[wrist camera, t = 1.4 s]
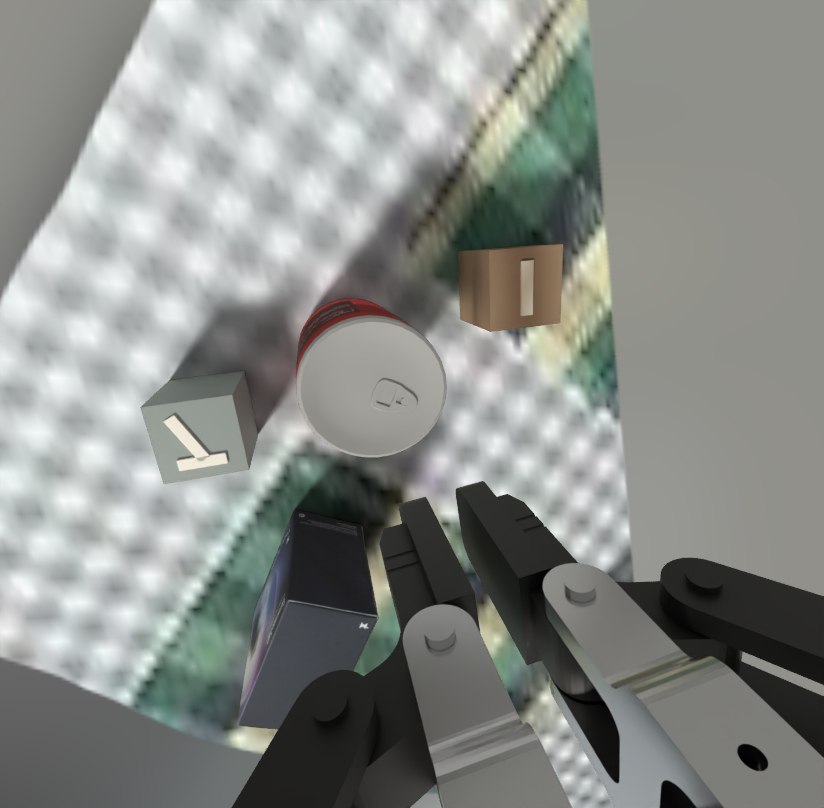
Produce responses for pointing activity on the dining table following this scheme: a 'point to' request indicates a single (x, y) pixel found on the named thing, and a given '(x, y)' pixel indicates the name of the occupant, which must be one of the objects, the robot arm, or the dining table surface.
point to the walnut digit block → (511, 286)
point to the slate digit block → (201, 426)
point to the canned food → (367, 379)
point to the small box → (307, 616)
